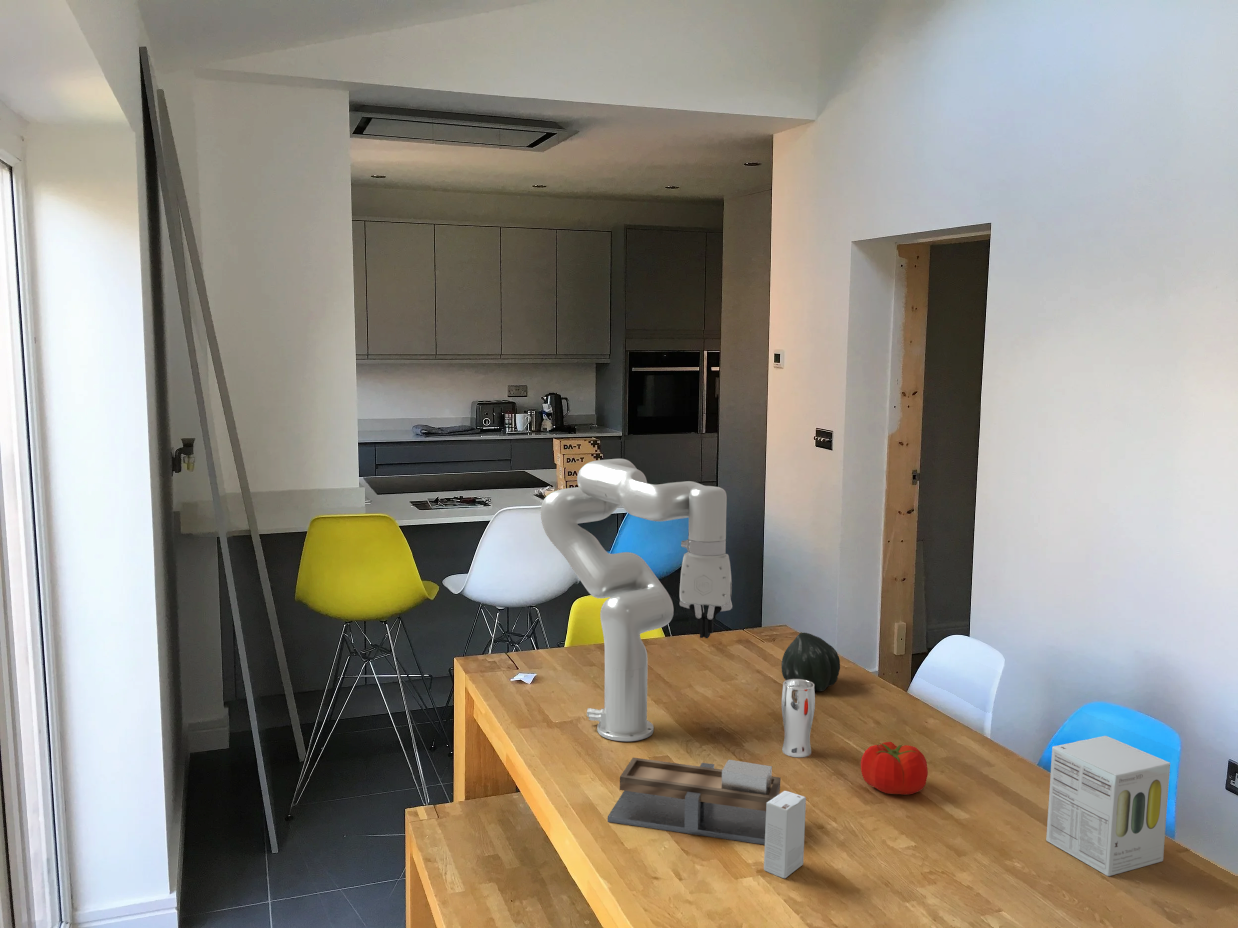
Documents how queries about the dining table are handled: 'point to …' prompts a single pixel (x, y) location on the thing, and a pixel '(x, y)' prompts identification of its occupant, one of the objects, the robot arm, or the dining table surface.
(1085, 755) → the supplement box
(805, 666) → the squash
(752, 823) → the pivot stand
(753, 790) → the steel block
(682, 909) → the dining table surface
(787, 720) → the beer glass
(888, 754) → the tomato
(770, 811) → the skincare box
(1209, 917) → the dining table surface
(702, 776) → the long rimmed wooden tray
